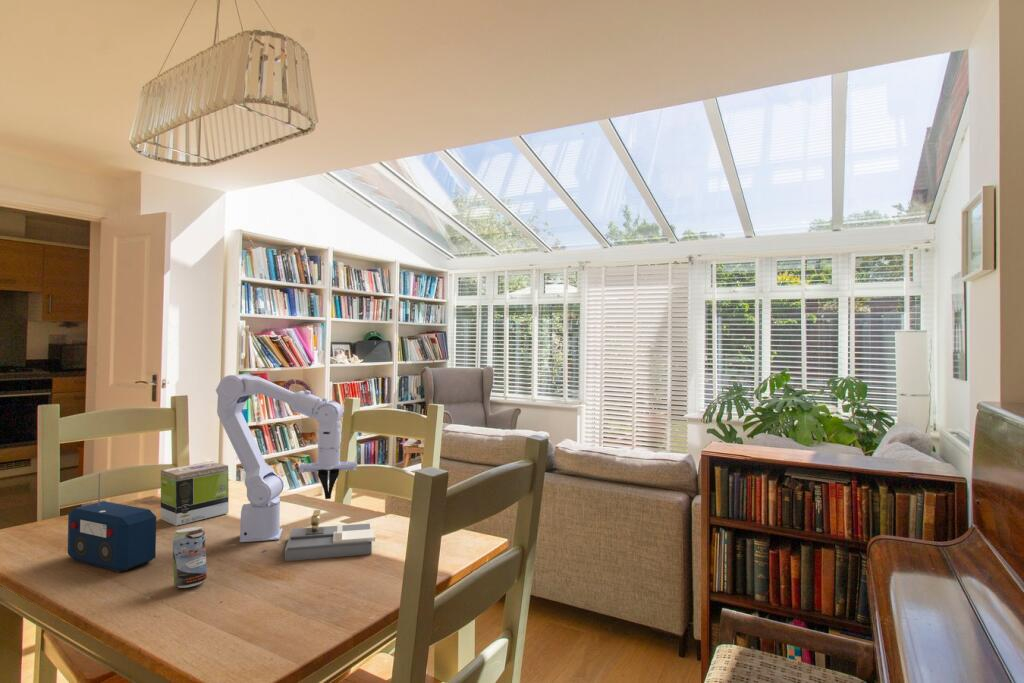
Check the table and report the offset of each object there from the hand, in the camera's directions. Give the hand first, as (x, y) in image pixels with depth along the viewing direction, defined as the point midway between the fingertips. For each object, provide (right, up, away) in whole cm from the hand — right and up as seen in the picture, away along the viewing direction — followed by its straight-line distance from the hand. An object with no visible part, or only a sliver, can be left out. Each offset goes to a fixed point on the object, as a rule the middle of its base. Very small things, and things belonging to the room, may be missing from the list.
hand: (328, 498), depth 150 cm
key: (-3, -7, -1) cm, 8 cm away
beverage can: (-20, -10, -31) cm, 38 cm away
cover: (+9, -8, -9) cm, 15 cm away
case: (+3, -10, -6) cm, 13 cm away
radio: (-45, -10, -19) cm, 50 cm away
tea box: (-44, -10, +15) cm, 47 cm away
